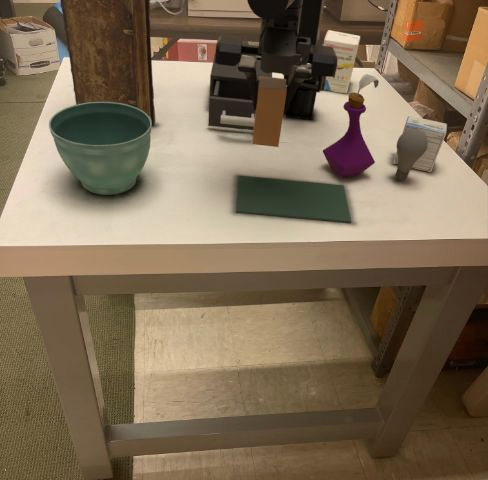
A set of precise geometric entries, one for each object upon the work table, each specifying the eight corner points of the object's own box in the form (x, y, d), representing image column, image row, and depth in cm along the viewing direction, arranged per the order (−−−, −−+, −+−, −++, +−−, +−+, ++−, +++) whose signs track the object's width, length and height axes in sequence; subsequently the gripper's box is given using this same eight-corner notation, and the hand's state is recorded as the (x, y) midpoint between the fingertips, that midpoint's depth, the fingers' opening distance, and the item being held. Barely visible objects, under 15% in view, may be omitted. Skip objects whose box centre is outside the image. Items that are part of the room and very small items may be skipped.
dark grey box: (268, 116, 113) (272, 81, 108) (209, 110, 112) (210, 75, 107) (267, 91, 123) (271, 58, 118) (213, 86, 123) (215, 52, 117)
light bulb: (414, 189, 95) (433, 139, 88) (385, 183, 96) (402, 134, 89) (413, 175, 99) (431, 127, 92) (386, 170, 100) (401, 121, 93)
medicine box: (432, 164, 104) (448, 123, 97) (430, 173, 101) (447, 132, 94) (394, 155, 105) (408, 114, 99) (392, 164, 102) (406, 123, 96)
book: (73, 114, 105) (50, -27, 87) (95, 103, 109) (78, -33, 91) (137, 137, 100) (127, -7, 82) (157, 125, 105) (152, -14, 87)
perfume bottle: (340, 184, 94) (365, 86, 81) (318, 165, 99) (339, 70, 86) (371, 177, 97) (399, 82, 84) (348, 160, 101) (372, 66, 89)
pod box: (278, 134, 88) (286, 78, 82) (278, 147, 85) (286, 90, 78) (253, 131, 88) (259, 75, 81) (252, 144, 85) (258, 87, 78)
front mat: (343, 187, 94) (343, 185, 93) (350, 223, 85) (351, 221, 85) (238, 177, 93) (238, 175, 92) (235, 212, 84) (236, 210, 84)
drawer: (266, 141, 102) (269, 113, 98) (206, 135, 102) (207, 106, 97) (266, 106, 115) (269, 80, 110) (212, 100, 114) (214, 74, 110)
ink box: (314, 88, 127) (323, 38, 119) (318, 77, 133) (327, 28, 125) (347, 94, 127) (359, 44, 118) (349, 82, 133) (360, 34, 124)
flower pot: (52, 205, 81) (39, 142, 73) (69, 157, 92) (58, 98, 84) (152, 208, 83) (149, 147, 75) (156, 161, 94) (153, 103, 86)
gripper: (214, 10, 66) (209, 125, 77) (352, 26, 67) (327, 137, 78) (220, -10, 74) (215, 97, 85) (343, 5, 74) (322, 109, 85)
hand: (269, 110), depth 83 cm, fingers closed on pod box, 4 cm apart
